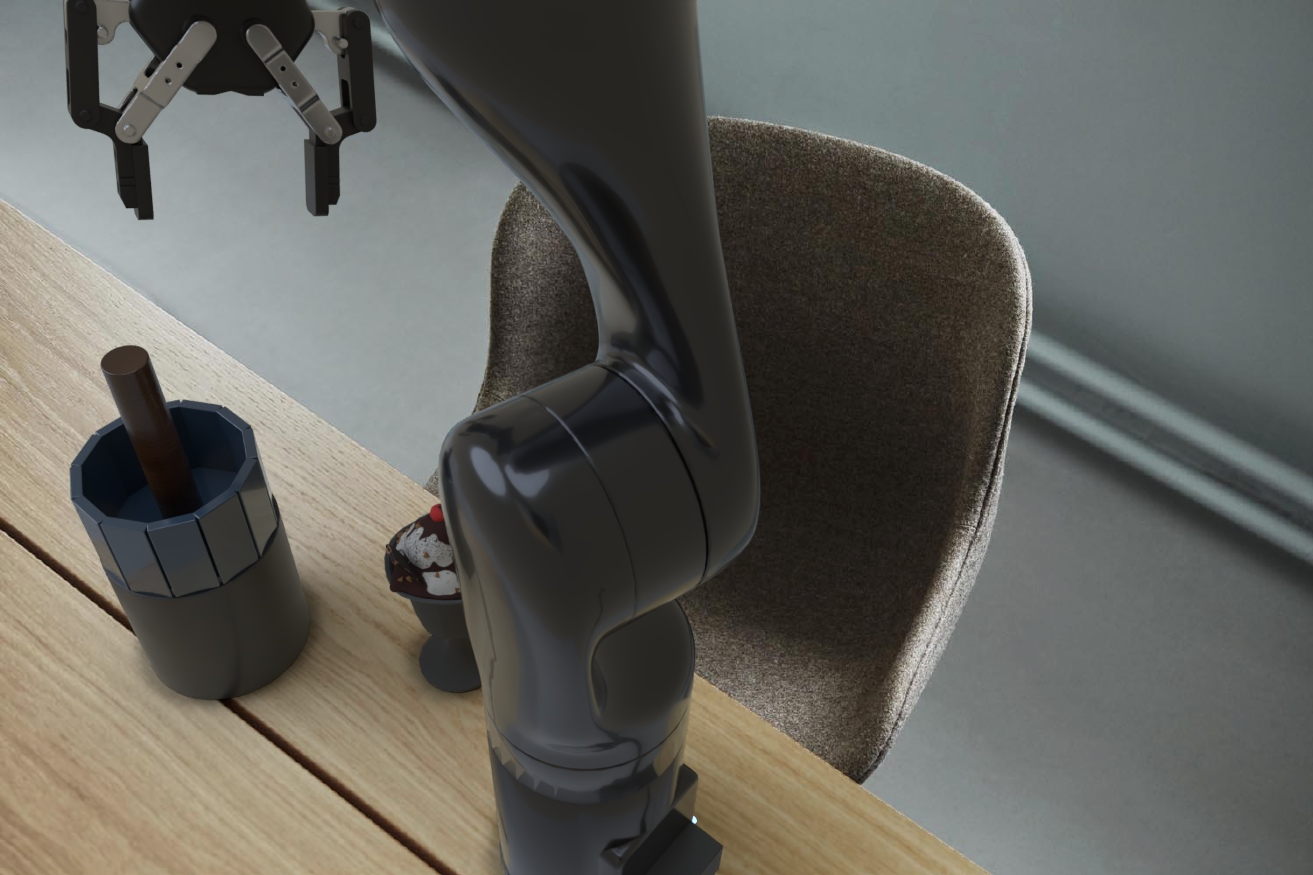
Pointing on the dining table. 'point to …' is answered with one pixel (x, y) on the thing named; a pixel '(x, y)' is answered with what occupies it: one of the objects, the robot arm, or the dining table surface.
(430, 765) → the dining table surface
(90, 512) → the bowl
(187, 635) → the stand
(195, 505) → the stick
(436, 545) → the sundae
